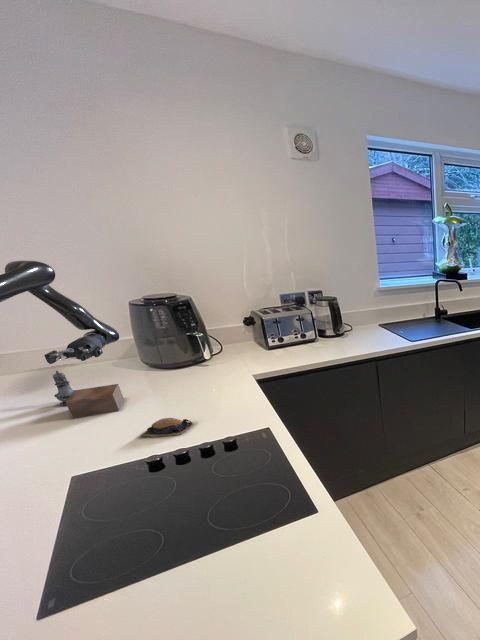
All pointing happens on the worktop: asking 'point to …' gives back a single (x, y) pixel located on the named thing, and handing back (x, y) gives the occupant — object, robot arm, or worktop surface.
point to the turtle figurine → (168, 427)
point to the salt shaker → (62, 388)
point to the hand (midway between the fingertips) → (65, 359)
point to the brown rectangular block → (95, 401)
